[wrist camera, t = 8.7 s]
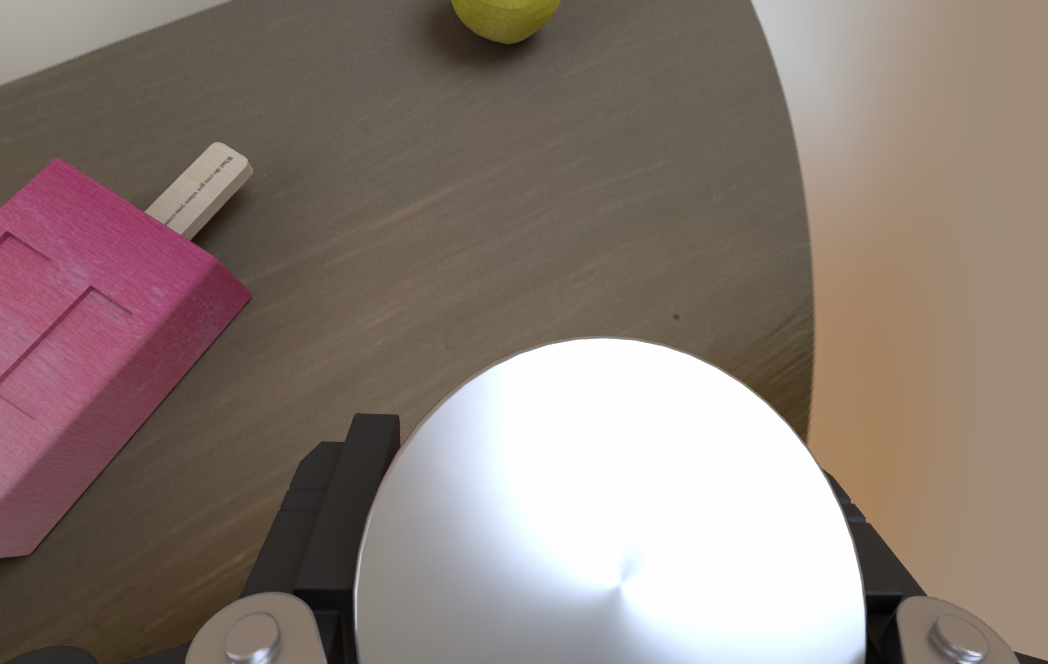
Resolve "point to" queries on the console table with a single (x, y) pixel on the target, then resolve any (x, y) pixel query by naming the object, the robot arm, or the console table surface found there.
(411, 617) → the can
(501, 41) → the fruit
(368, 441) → the robot arm
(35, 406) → the popsicle
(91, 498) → the console table surface
